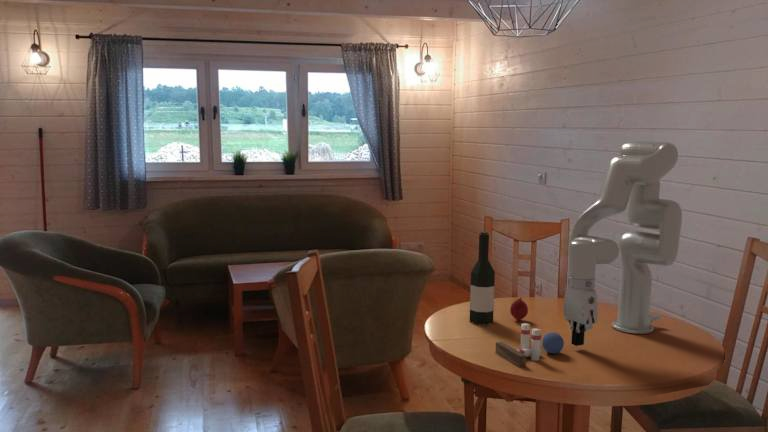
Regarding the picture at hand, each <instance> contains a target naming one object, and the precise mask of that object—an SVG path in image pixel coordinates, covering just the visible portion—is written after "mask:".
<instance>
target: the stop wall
mask: <svg viewBox="0 0 768 432" xmlns="http://www.w3.org/2000/svg"><path fill="white" fill-rule="evenodd" d="M517 350H518V349H515V348H514V347H512V346H511V345H509V344H507V343H505V342H503V341H498V342H495V354H497V355H499V356H500V357H502V358H504V359H505V360H507V361H508V362H510V363H512V364H514V365H515V366H517V367H518V368H522V367H527V357H526V355H524V354H523V353H521V352H519V351H517Z"/></svg>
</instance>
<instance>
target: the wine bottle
mask: <svg viewBox="0 0 768 432" xmlns="http://www.w3.org/2000/svg"><path fill="white" fill-rule="evenodd" d="M478 239H479V240H478V259H477V261H476V262H475V264H474V265H473V267H472V269H471V270H470V295H469V296H470V297H469V298H470V299H469V322H470V323H472V322H473V323H472V324H474V323H475V325H482V324H485V326H488V325H491V324H494V307H495V306H494V305H495V282H496V281H495V280H496V279H495V278H496V272H495V269H494V267H493V265H492V264H491V262H490V260H489V251H490V250H489V248H490V247H489V246H490V234H489V232H488V231H485V230H484V231H483V230H482V231H480V233H479V235H478ZM490 323H491V324H490Z"/></svg>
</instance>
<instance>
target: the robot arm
mask: <svg viewBox="0 0 768 432" xmlns="http://www.w3.org/2000/svg"><path fill="white" fill-rule="evenodd" d="M678 159H679V152H678V148H677V147H676V146H675V145H674V144H673V143H671V142H667V141H666V142H665V141H641V140H640V141H639V140H638V141H628V142H625V143H623V144H622V145H621V147H620V149H619V155H616V156H615V157H612V158H611V159H610V161H609V162H608V165H607V168H606V172H605V174H604V177H603V181H602V184H601V187H600V190H599V192H598V193H599V194H598V197H597V199H596V201H595V202H594V203H593V204H591V205H590V206H589V207H588V208H586V209H585V210H584V211H583V212H582V213H581V215H579V217H578V218H577V219H576V221H575V222H574V225H573V228H572V230H571V234H570V237H569V241H568V248H567V249H568V260H567V261H568V264H567V279H566V280H567V283H566V288H565V292H564V293H565V294H564V297H563V298H564V299H563V316H564V317H565V318H564V319H565V320H566V321H567V322H568V323H569V325H570V330H571V342H570V344H571V345H573V346H575V347H577V346H584V344H585V333H586V332H587V331H589V330H593V328H594V327H593V326H594V324H596V323H597V322H598V311H599V309H598V297H597V296H598V295H597V290H596V289H595V286H596V285H595V284H596V283H595V282H596V281H595V280H596V268H597V267H596V266H597V265H609V264H610V265H611V263H613V262H615V261H616V260H617V258H618V256H619V259H620V260H619V262H620V263H619V264H620V274H619V289H618V291H619V292H618V304H617V305H618V306H617V319H615V320H613V321H612V322H611V326H612V328H614V329H615V330H617V331H619V332H623V333H627V334H634V335H636V334H637V335H644V334H650V333H653V332H654V329H655V327H654V326H653V324H652V323H653V322H659V321H660V320H661V316H660V315H659V314H655V315H654V314H653V315H652V314H650V310H651V298H652V297H651V294H652V281H653V275H652V271H651V269H650V267H649V265H648V264H650V265H656V266H662V267H668V266H671V265H673V264H674V263H675V261H676V259H677V256H678V253H679V246H680V238H681V237H680V236H681V230H682V222H683V221H682V220H683V212H682V207H681V205H680V203H678V202H677V201H675V200H671V199H664V198H663V199H662V198H660V191H661V190H660V189H661V181H660V180H661V179H662V178H663V177H665V176H666V175H667V174H668V173H670V171H672V170H673V169H674V167H675V166H676V164H677V162H678ZM627 206H628V207H627ZM627 208H628V210H627V211H628V212H627V221H628V222H629V224H630V225H632V226H634V227H638V228H645V229H650V230H651V229H652V230H658V231H659V233H654V232H645V231H638V230H630V231H627V232H626V231H625V232H624V233H623V234H622V235H621V236H620V238H619V240H618V244H617V242H616V241H614V240H612V239H610V238H605V237H599V236H593V235H589V232H590V230H591V228H593V226H594V225H595V224H598V222H600V221H602V220H604V219H606V218H609V217H612V216H615V215H617V214H621V213H623V212H625V210H626V209H627Z"/></svg>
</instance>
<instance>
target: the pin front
mask: <svg viewBox="0 0 768 432" xmlns="http://www.w3.org/2000/svg"><path fill="white" fill-rule="evenodd" d="M516 350H517V351H519V352H521V353H523V354H524V355H526V358H531V347H529V348H526V349H521V348H519V349H516ZM542 354H543V350H542V348H541V347H540V356H541V355H542Z"/></svg>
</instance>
